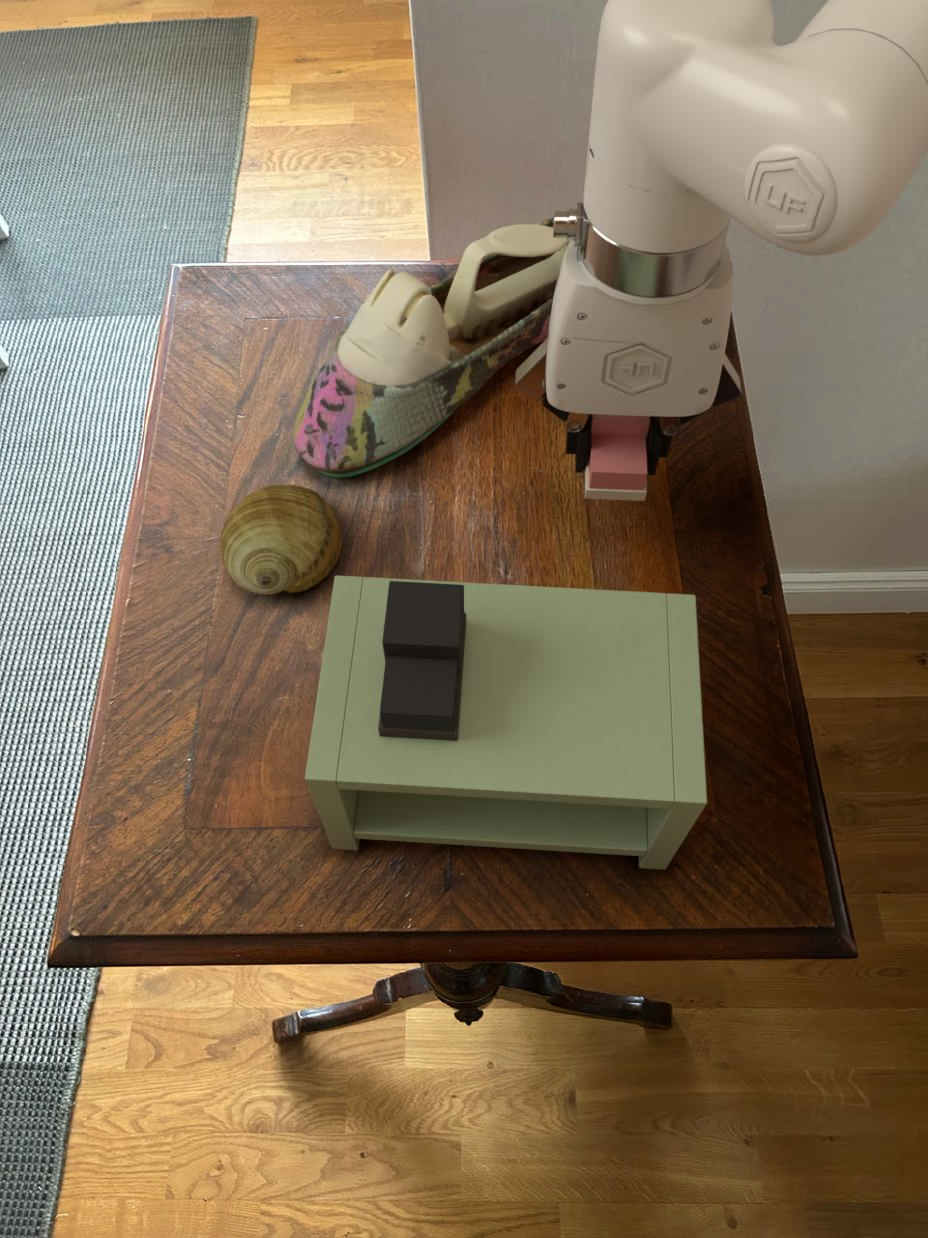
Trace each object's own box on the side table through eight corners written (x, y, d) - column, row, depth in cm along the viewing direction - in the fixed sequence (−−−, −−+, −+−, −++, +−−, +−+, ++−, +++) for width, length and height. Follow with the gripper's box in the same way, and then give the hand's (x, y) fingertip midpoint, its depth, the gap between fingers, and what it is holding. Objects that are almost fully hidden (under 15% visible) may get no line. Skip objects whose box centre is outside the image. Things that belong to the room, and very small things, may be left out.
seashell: (292, 541, 77) (207, 485, 72) (358, 491, 73) (274, 430, 68) (290, 640, 70) (196, 587, 65) (362, 591, 67) (270, 531, 62)
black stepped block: (392, 617, 55) (387, 576, 51) (466, 621, 55) (466, 580, 51) (379, 736, 51) (372, 702, 48) (457, 741, 51) (457, 707, 48)
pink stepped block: (585, 418, 71) (590, 376, 67) (642, 420, 71) (650, 378, 67) (584, 499, 67) (590, 458, 64) (645, 501, 67) (654, 460, 63)
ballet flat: (259, 423, 77) (230, 317, 68) (557, 247, 86) (568, 132, 77) (341, 511, 73) (322, 410, 64) (643, 316, 82) (666, 203, 73)
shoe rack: (659, 688, 66) (695, 594, 56) (665, 870, 60) (707, 803, 50) (355, 670, 67) (334, 574, 56) (332, 849, 61) (304, 779, 50)
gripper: (488, 279, 52) (488, 497, 67) (821, 289, 51) (742, 507, 67) (495, 184, 55) (494, 411, 71) (806, 191, 54) (734, 419, 70)
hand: (614, 455), depth 69 cm, fingers closed on pink stepped block, 4 cm apart
